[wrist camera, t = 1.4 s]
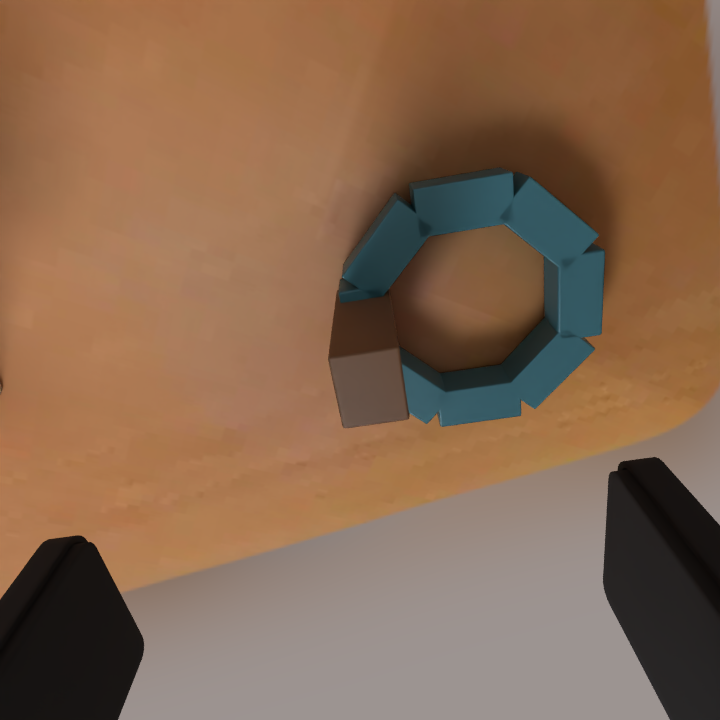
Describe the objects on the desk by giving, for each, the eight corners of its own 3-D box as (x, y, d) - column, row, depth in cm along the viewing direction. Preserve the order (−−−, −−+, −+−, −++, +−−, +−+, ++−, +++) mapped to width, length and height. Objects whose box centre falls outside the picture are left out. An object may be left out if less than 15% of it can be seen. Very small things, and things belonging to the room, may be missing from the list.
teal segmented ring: (589, 151, 17) (693, 169, 12) (583, 385, 21) (659, 478, 16) (318, 198, 18) (300, 235, 13) (361, 417, 22) (361, 516, 17)
